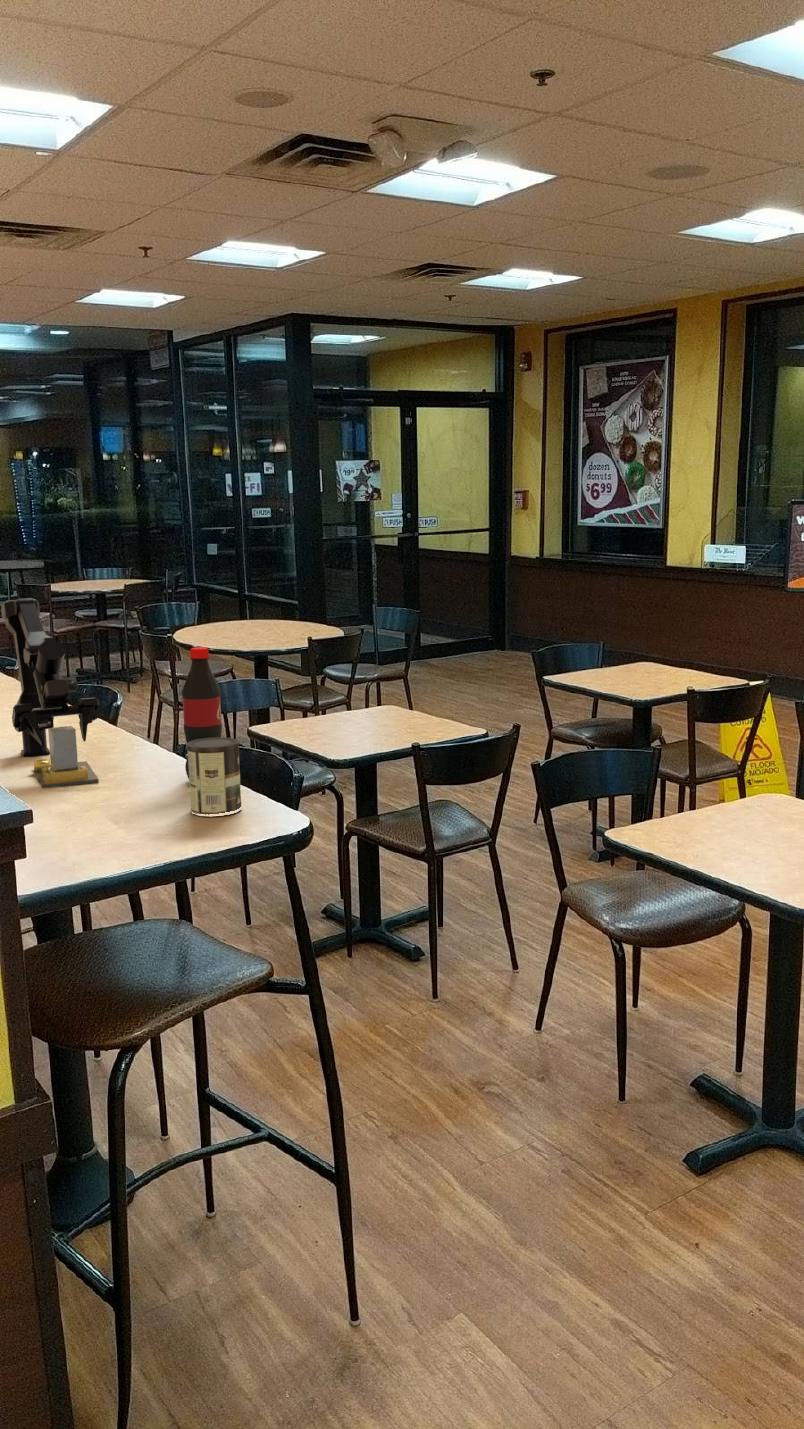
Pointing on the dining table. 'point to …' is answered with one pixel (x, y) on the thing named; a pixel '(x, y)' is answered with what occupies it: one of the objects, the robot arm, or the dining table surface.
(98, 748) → the dining table surface
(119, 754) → the dining table surface
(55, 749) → the link block
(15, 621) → the robot arm
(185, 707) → the cola bottle
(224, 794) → the coffee can
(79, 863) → the dining table surface
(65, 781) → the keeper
